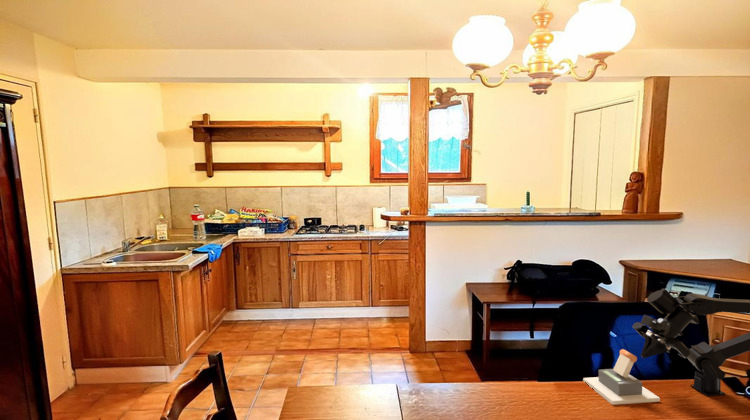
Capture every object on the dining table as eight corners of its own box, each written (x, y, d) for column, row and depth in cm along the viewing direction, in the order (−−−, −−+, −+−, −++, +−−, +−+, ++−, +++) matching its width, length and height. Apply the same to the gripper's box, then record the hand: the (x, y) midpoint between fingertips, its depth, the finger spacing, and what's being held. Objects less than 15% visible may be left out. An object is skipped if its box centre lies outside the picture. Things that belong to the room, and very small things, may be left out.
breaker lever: (617, 371, 132) (626, 350, 132) (628, 378, 127) (638, 357, 127) (611, 369, 132) (621, 348, 132) (622, 376, 127) (632, 354, 127)
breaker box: (625, 378, 138) (625, 363, 138) (659, 401, 123) (660, 385, 123) (583, 381, 137) (583, 366, 136) (612, 404, 122) (612, 388, 121)
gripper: (637, 299, 139) (607, 331, 139) (682, 316, 120) (648, 353, 120) (657, 320, 140) (628, 351, 140) (705, 340, 121) (671, 376, 121)
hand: (642, 356), depth 130 cm, fingers closed
